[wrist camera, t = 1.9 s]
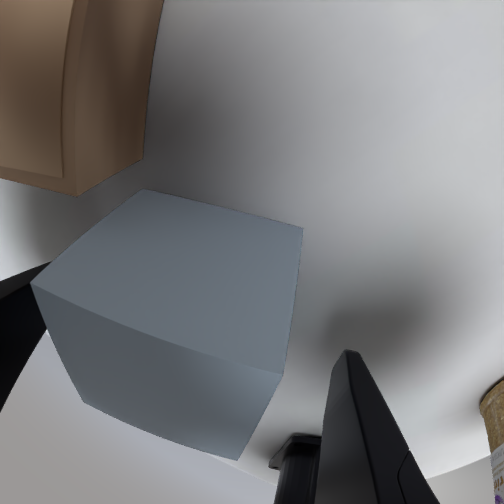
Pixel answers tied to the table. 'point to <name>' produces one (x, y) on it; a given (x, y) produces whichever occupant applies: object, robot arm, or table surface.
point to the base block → (73, 89)
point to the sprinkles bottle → (495, 436)
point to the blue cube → (176, 317)
